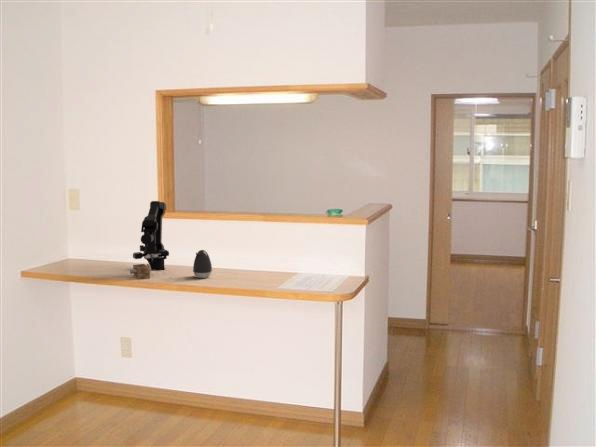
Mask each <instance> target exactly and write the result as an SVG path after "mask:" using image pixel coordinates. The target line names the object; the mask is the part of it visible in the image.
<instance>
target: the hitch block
mask: <svg viewBox="0 0 596 447" xmlns="http://www.w3.org/2000/svg"><path fill="white" fill-rule="evenodd" d="M133 269H137V273H133V277H135V278H136V279H138V280H147V279H149V280H150V279H151V276H150V275H151V268H150V267H148V266H147V264H145V263H140V264H133V265H132V270H133Z"/></svg>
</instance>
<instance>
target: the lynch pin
mask: <svg viewBox="0 0 596 447" xmlns="http://www.w3.org/2000/svg"><path fill="white" fill-rule="evenodd" d="M146 266H148V267H150V265H149V263H146ZM133 273H137V269H133V268H132V269H129V274H130V275H132V274H133ZM133 275H134V274H133Z"/></svg>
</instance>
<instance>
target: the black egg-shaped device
mask: <svg viewBox="0 0 596 447" xmlns="http://www.w3.org/2000/svg"><path fill="white" fill-rule="evenodd" d="M195 255H196V256H195V258H194V261H193V268H192V272H193V274H194V276H195V278H198V279H207V278H209V277H210V276H211V274H212V271H213V267H212V261H211V258H210V255H209V253H208V251H206V250H204V249H200V250H198V251H197V252H195Z"/></svg>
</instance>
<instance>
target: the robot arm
mask: <svg viewBox="0 0 596 447" xmlns="http://www.w3.org/2000/svg"><path fill="white" fill-rule="evenodd" d="M166 210H167V204H166V203H165V202H164V201H160V200H152V201H150V204H149V210H148V214H147V215H146V216H145V217H144V218H143V220H142V222H141V231H140V233H143V234H142V235H140V236H141V237H140V243H141V244H143V245H139V252H138V251H137V252H133V253H132V259H134V260H140V259H142V258H143V259H145V260H146V261H147V262H148V263H147V264H148V265H149V266H150V271H151V270H153V271H162V270H164V271H165V270H166V268H165V260H166V259H167V257H169V256H170V252H169V250H168V249H166V248H165V245H164V244H163V242H162V238H163V235H162V234H163V232H162V231H163V217H164V215H166Z"/></svg>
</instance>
